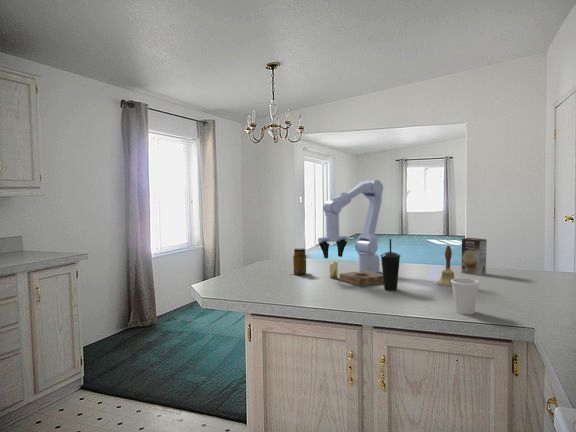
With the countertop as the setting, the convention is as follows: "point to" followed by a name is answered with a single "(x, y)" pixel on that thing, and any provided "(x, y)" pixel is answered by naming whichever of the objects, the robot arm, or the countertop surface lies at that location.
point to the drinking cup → (390, 269)
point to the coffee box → (474, 256)
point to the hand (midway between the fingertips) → (333, 257)
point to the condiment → (299, 262)
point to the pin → (333, 270)
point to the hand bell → (447, 270)
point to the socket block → (361, 278)
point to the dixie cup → (465, 295)
